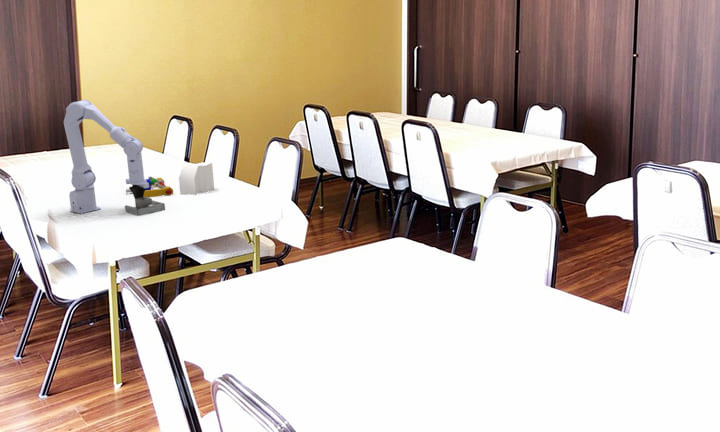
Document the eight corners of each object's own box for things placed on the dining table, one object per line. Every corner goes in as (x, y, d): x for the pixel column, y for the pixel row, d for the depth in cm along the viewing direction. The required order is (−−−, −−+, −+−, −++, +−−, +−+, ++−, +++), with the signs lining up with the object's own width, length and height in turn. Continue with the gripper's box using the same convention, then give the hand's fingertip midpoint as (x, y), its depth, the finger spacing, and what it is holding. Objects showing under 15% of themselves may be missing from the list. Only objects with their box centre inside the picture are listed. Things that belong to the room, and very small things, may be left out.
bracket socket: (139, 215, 304) (138, 208, 303) (125, 211, 311) (124, 204, 310) (166, 209, 312) (165, 202, 311) (151, 205, 319) (151, 198, 318)
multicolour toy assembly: (160, 170, 363) (172, 181, 336) (162, 183, 365) (174, 196, 338) (120, 174, 356) (129, 186, 330) (121, 188, 358) (130, 201, 331)
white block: (214, 189, 346) (212, 162, 343) (202, 195, 336) (200, 167, 333) (192, 188, 349) (190, 162, 346) (180, 194, 339) (177, 167, 336)
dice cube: (140, 213, 308) (139, 200, 307) (136, 210, 312) (134, 198, 311) (152, 210, 311) (151, 198, 310) (148, 208, 315) (146, 196, 314)
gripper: (154, 170, 308) (157, 203, 312) (135, 166, 318) (138, 198, 322) (138, 173, 303) (142, 207, 307) (119, 169, 313) (123, 202, 317)
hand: (139, 203), depth 314 cm, fingers closed
